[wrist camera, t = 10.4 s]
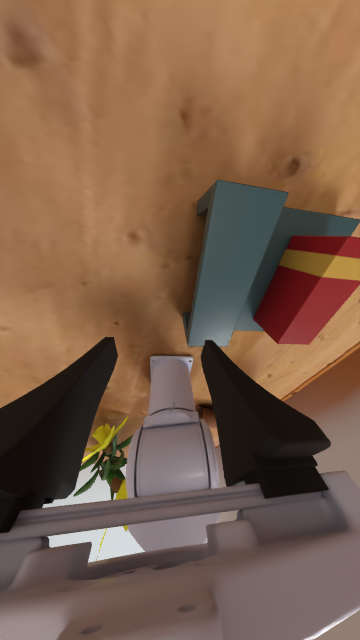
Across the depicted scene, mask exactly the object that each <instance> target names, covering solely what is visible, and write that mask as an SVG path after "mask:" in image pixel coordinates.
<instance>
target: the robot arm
mask: <svg viewBox="0 0 360 640" xmlns="http://www.w3.org/2000/svg"><path fill="white" fill-rule="evenodd" d="M117 357H118V354H117V350H116V345H115V340H114V337H105V338H104V339H102V340H101V341H100V342H99V343H98V344H96V345H95V346H94V347H93V348H92V349H90V350H89V351H88V352H87V353H85V354H84V355H83V356H82V357H81V358H79V359H78V360H77V361H75V362H74V363H73V364H71V365H70V366H69V367H67V368H66V369H65V370H63V371H62V372H60V373H59V374H57V375H56V376H54V377H53V378H51V379H50V380H48V381H47V382H45V383H44V384H42V385H40V386H39V387H37V388H35V389H34V390H32V391H30V392H29V393H27V394H25V395H23V396H22V397H20V398H18V399H17V400H15V401H13V402H11V403H9V404H7V405H6V406H4V407H2V408H0V640H313V639H315V638H317V637H318V636H320V635H321V634H323V633H324V632H326V631H328V630H329V629H331V628H332V627H334V626H335V625H337V624H338V623H340V622H341V621H343V620H345V619H346V618H348V617H349V616H351V615H352V614H354V613H355V612H357V611H359V610H360V489H359V487H358V486H357V485H356V483H355V482H354V481H353V479H352V478H351V477H350V475H349V474H348V473H347V472H346V471H336V472H327V473H322V474H319V473H318V471H317V469H316V468H315V466H317V462H316V461H315V459H314V458H313V455H315V454H317V453H319V452H321V451H323V450H325V449H327V448H328V447H330V445H331V442H330V440H329V439H328V438H327V437H326V435H325V434H324V433H323V431H322V430H321V429H320V428H319V426H318V425H317V424H316V423H315V421H313V420H312V419H310V418H309V417H307V416H305V415H303V414H302V413H300V412H298V411H297V410H295V409H293V408H292V407H290V406H289V405H287V404H286V403H284V402H283V401H281V400H279V399H278V398H277V397H275V396H274V395H272V394H271V393H269V392H268V391H267V390H265V389H264V388H263V387H261V386H260V385H259V384H257V383H256V382H255V381H254V380H252V379H251V378H250V377H249V376H248V375H246V374H245V373H244V372H243V371H242V370H241V369H240V368H239V367H238V366H237V365H236V364H234V363H233V362H232V361H231V360H230V358H229V357H228V356H227V355H226V354H225V353H224V352H223V351H222V350H221V349H220V348H219V347H218V345H217V344H216V343H215V342H214V341H213V340H205V343H204V347H203V350H202V354H201V362H202V368H203V372H204V375H205V378H206V382H207V385H208V388H209V392H210V395H211V399H212V403H213V408H214V413H215V419H216V424H217V430H218V436H219V442H220V448H221V456H222V463H223V470H224V478H225V481H226V486H227V487H223V488H219V486H218V479H219V474H218V464H217V457H216V452H215V446H214V442H213V437H212V434H211V430H210V428H209V425H208V424H207V423H206V422H205V421H204V419H199V416H198V412H196V410H195V404H194V398H193V391H192V385H191V379H190V372H191V367H192V363H193V357H192V356H151V357H150V368H151V390H150V400H149V409H148V417H144V424H143V425H141V426H139V427H138V428H137V430H136V431H135V433H134V435H133V437H132V440H131V443H130V447H129V452H128V458H127V467H126V489H127V499H118V500H109V501H100V502H92V503H84V504H74V505H66V506H57V507H48V508H42V506H43V504H49V503H52V502H53V501H54V500H55V499H65V498H67V497H68V496H69V495H70V494H71V493H72V492H73V490H74V489H75V486H76V482H77V478H78V474H79V470H80V467H81V463H82V459H83V455H84V452H85V448H86V445H87V441H88V438H89V434H90V431H91V428H92V425H93V421H94V418H95V415H96V412H97V409H98V406H99V403H100V401H101V398H102V396H103V394H104V391H105V389H106V387H107V384H108V382H109V380H110V377H111V375H112V373H113V370H114V368H115V364H116V361H117ZM234 510H239V511H238V513H237V519H236V520H235V521H228V522H221V523H217V522H218V520H219V517H220V512H227V511H234ZM125 525H128V530H129V532H130V533H131V534H132V536H133V537H134V538H135V540H136V541H137V542H138V544H139V545H140V546H141V547H142V548H143V550H144V551H145V552H142V553H137V554H131V555H126V556H121V557H116V558H110V559H105V560H100V561H95V562H90V563H88V559H89V555H90V551H91V546H92V543H91V542H86V543H79V544H72V545H65V546H60V547H54V548H50V547H49V538H48V537H46V536H53V535H60V534H67V533H75V532H82V531H89V530H96V529H103V528H110V527H118V526H125ZM206 541H208V543H206Z"/></svg>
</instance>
